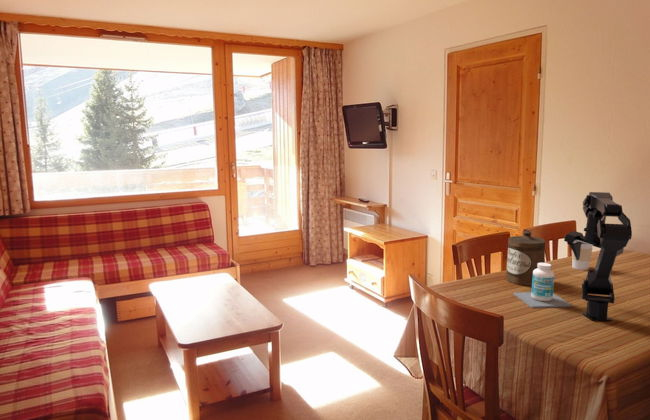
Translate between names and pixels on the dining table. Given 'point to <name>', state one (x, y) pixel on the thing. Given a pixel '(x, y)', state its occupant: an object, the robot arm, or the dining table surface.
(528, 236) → the labeled lidded canister
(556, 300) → the slate mat
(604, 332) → the dining table surface
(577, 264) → the coffee cup
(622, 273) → the dining table surface
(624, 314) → the dining table surface
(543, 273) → the pill bottle
